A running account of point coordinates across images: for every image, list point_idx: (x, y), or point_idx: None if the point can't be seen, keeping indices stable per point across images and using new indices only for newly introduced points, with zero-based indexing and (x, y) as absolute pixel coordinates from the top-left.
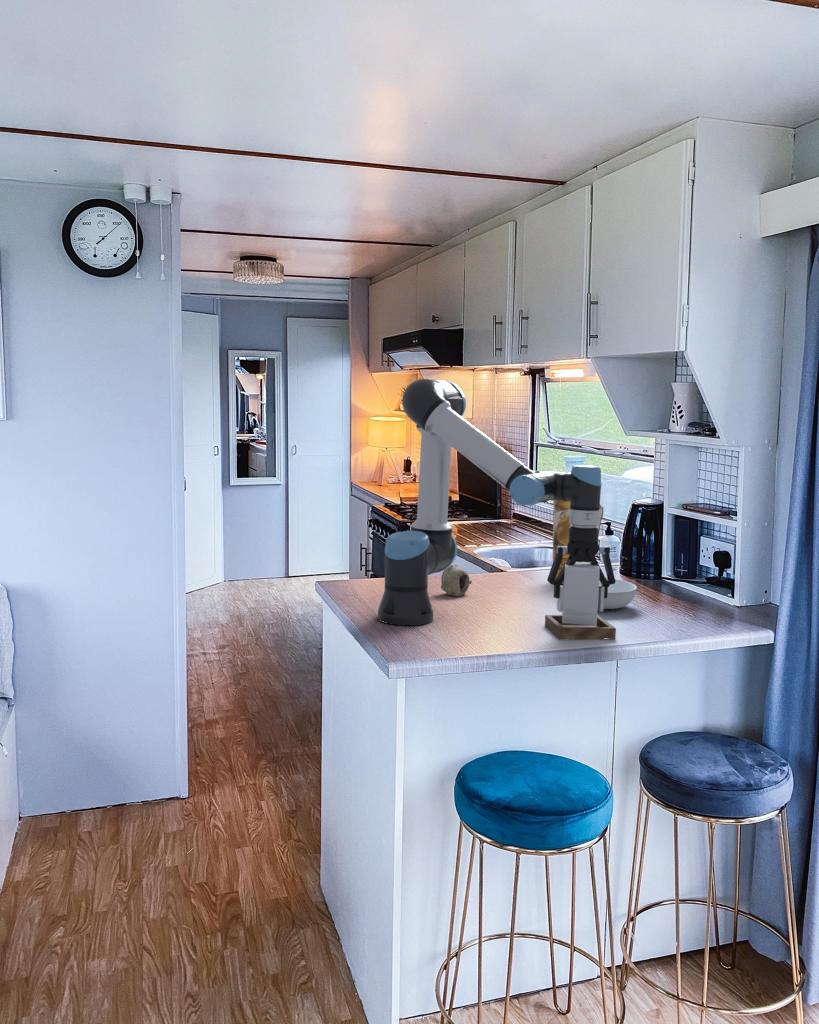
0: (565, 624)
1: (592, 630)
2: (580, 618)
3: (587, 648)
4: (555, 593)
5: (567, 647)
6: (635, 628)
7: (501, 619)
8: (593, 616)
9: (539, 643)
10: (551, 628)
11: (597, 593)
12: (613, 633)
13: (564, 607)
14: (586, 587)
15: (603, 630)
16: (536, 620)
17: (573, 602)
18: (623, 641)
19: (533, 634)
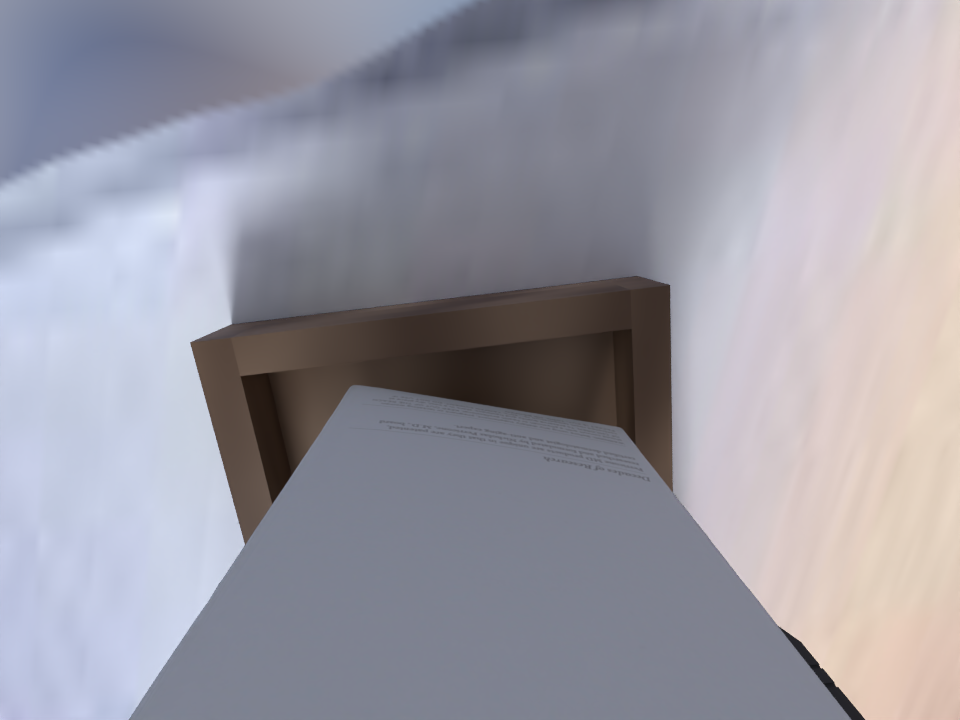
0: None
1: (396, 316)
2: (486, 420)
3: (485, 35)
4: (827, 675)
5: (634, 56)
6: (64, 605)
7: (869, 698)
8: (366, 414)
9: (811, 159)
10: None
11: (242, 567)
12: (229, 332)
13: (663, 493)
14: (435, 658)
15: (304, 326)
16: None
17: (591, 510)
18: (176, 268)
19: (781, 394)
